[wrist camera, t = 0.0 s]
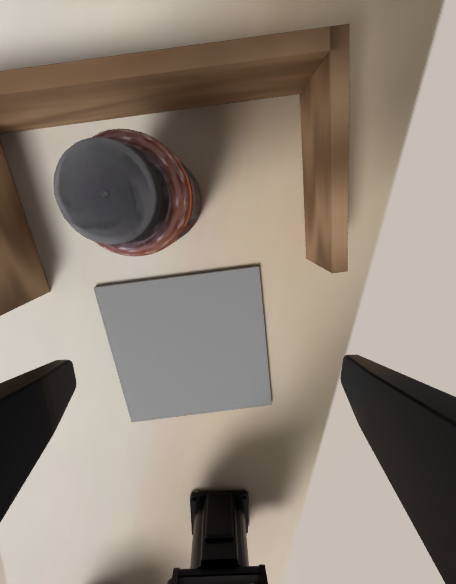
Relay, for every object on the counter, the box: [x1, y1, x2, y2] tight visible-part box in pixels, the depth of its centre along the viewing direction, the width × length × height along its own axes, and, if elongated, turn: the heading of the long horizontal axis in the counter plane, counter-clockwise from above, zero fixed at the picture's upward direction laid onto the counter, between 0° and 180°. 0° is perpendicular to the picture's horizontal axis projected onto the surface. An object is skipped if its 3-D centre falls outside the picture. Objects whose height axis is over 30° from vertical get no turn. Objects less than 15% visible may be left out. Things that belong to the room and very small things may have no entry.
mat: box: [94, 266, 272, 422], centre depth 25 cm, size 14×14×1 cm
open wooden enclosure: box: [0, 24, 349, 316], centre depth 18 cm, size 13×24×6 cm, turn 97°
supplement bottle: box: [54, 129, 201, 256], centre depth 16 cm, size 6×6×11 cm
